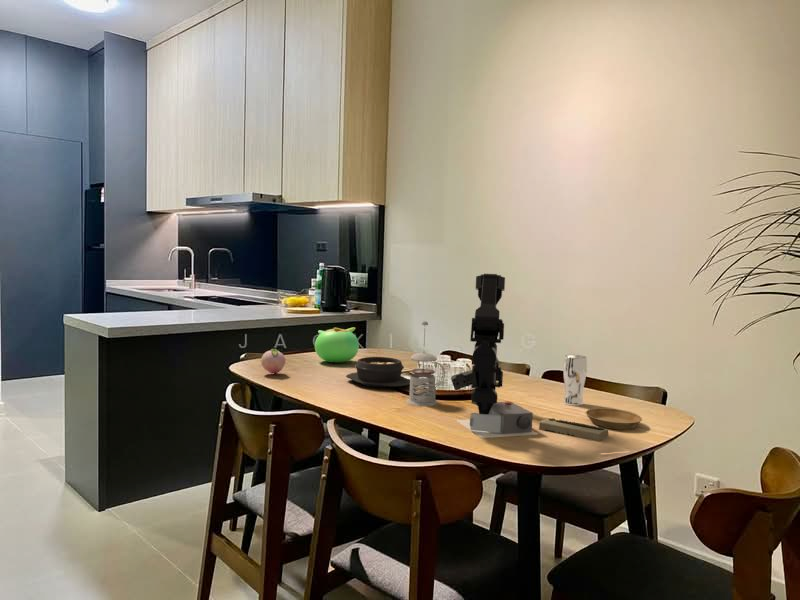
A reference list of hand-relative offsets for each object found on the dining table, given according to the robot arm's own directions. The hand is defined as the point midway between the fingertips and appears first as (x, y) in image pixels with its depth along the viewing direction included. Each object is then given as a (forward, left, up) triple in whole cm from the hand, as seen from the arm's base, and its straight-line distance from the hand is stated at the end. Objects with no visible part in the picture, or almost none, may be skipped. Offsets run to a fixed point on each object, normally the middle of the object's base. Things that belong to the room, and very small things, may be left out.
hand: (482, 421), depth 154 cm
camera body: (0, +7, -2) cm, 8 cm away
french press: (-30, -5, -2) cm, 31 cm away
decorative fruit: (-78, -46, -2) cm, 91 cm away
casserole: (-57, -12, -2) cm, 59 cm away
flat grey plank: (+8, +22, -3) cm, 24 cm away
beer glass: (-20, +41, -2) cm, 46 cm away
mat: (0, +4, -2) cm, 5 cm away
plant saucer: (+2, +39, -3) cm, 39 cm away
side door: (+4, -1, -1) cm, 4 cm away
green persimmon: (-100, -18, -2) cm, 102 cm away
